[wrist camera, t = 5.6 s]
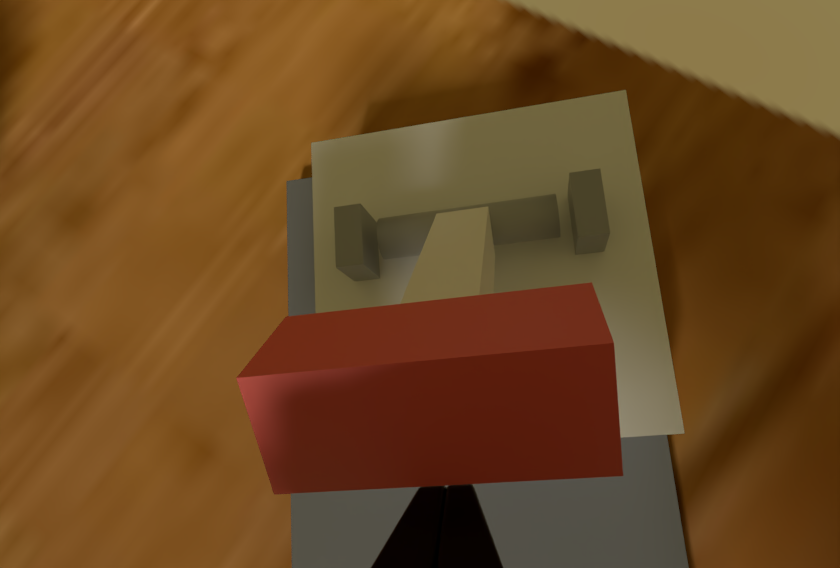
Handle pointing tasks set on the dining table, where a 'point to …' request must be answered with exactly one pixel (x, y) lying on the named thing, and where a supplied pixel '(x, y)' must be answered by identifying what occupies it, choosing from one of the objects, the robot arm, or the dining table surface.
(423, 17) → the dining table surface
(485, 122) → the switch panel
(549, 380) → the switch lever
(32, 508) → the dining table surface
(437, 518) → the robot arm
